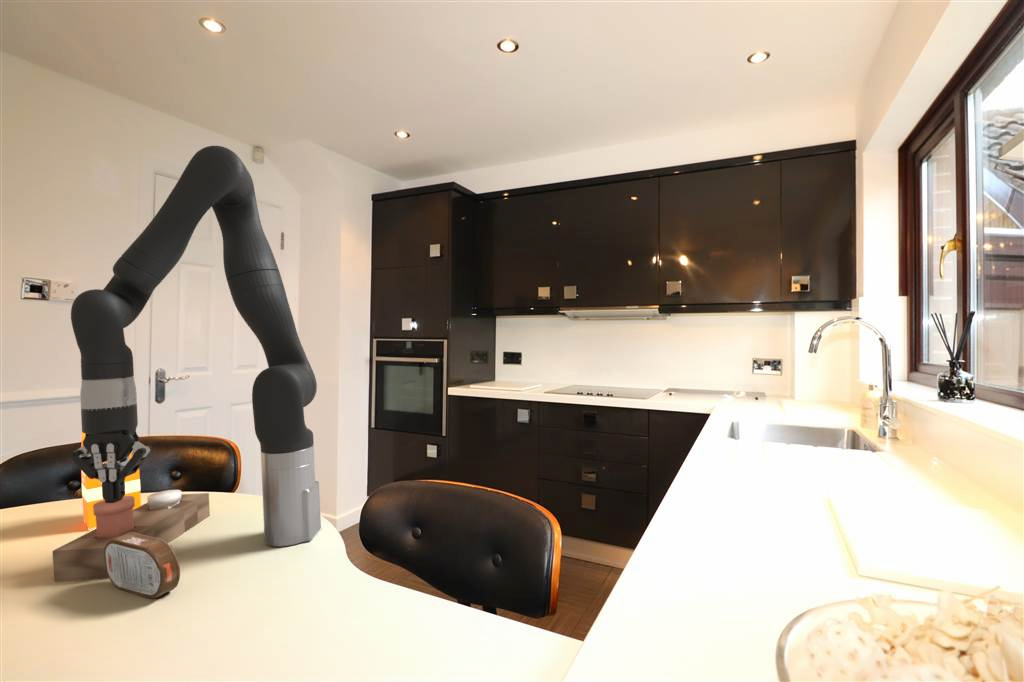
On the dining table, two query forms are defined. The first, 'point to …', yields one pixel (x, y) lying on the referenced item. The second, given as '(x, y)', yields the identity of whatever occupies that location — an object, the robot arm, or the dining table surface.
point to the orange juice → (94, 493)
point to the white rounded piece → (164, 499)
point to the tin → (141, 564)
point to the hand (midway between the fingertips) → (114, 501)
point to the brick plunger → (114, 517)
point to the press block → (166, 524)
